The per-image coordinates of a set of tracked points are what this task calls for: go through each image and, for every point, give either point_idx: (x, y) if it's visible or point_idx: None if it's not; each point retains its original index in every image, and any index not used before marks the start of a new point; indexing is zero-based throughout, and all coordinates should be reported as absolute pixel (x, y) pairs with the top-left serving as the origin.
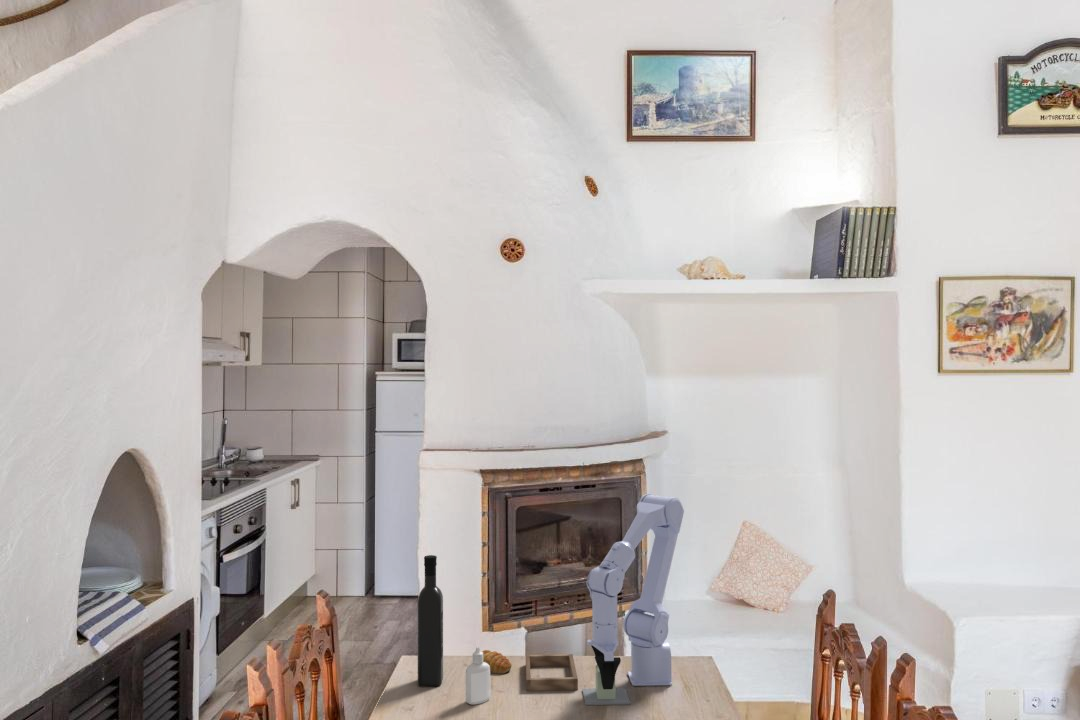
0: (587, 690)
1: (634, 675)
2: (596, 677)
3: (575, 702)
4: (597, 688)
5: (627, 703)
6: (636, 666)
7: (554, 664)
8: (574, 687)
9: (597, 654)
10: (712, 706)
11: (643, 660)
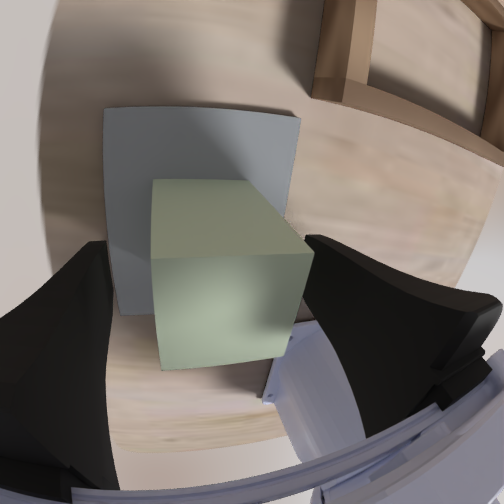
0: (273, 139)
1: (321, 344)
2: (228, 218)
3: (151, 55)
4: (154, 199)
5: (119, 303)
6: (327, 378)
7: (490, 99)
8: (318, 81)
9: (395, 309)
10: (139, 442)
11: (316, 417)
